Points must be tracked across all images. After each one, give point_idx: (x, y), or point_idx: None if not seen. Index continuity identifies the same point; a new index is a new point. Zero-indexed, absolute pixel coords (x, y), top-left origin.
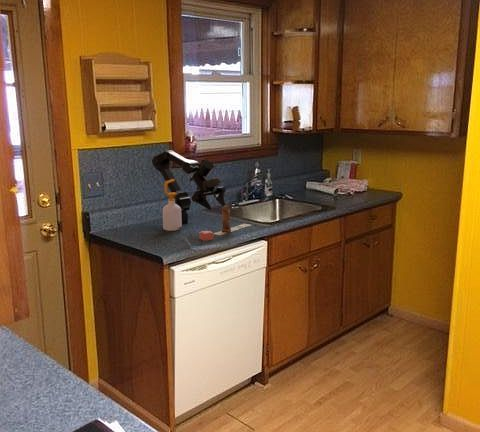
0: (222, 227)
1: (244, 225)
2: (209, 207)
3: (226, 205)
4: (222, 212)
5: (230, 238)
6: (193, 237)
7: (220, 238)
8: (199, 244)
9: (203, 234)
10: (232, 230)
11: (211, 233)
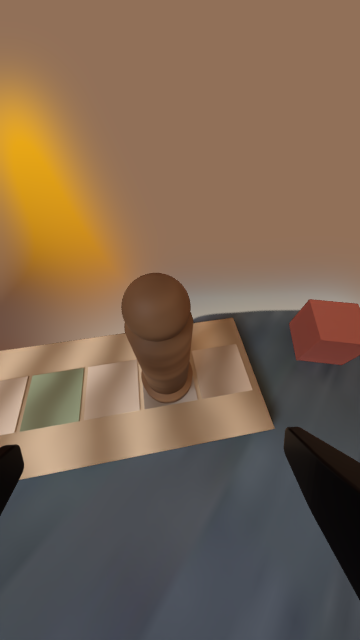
0: (186, 380)
1: (1, 404)
2: (324, 449)
3: (144, 285)
4: (191, 334)
5: (205, 318)
6: (352, 450)
7: None
8: None
9: (358, 315)
10: (136, 366)
11: (317, 302)
